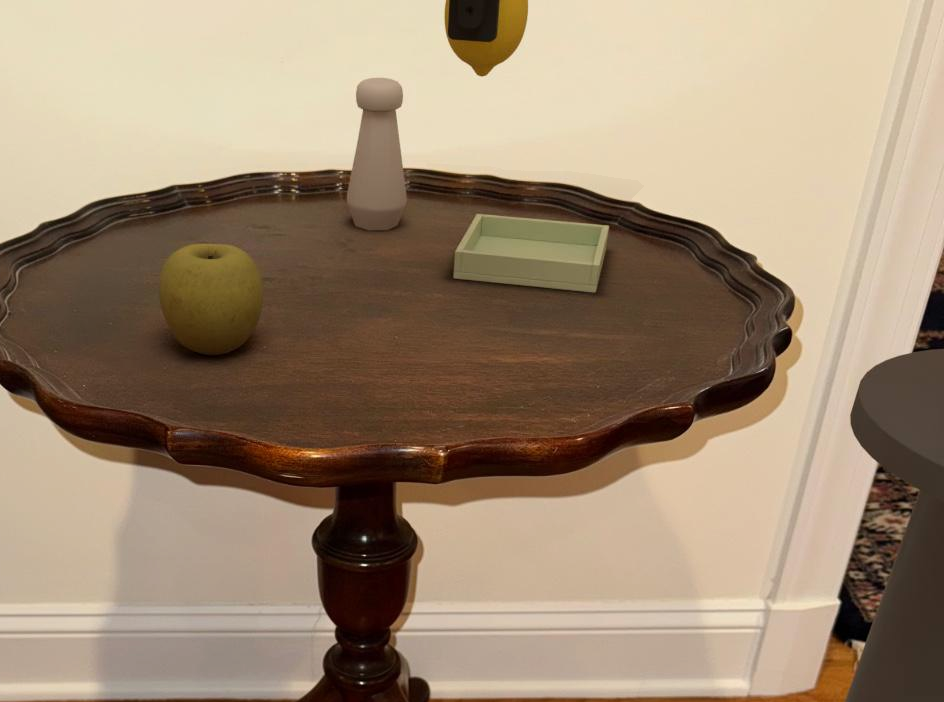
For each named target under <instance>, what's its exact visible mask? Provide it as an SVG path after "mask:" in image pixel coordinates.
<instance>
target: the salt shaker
mask: <svg viewBox="0 0 944 702" xmlns="http://www.w3.org/2000/svg"><path fill="white" fill-rule="evenodd" d="M403 100H404V91H403V87H402V85H401V83H400V82H399V81H397V80H394V79H392V78H387V77H370V78H366V79H363V80H361V81H359V83H358V84H357V86H356V90H355V101H356V105H357V107H358V108H359V109H360V110H362V113H361V118H360V119H361V120H360V126H359V132H358V137H357V142H356V147H355V152H354V158H353V162H352V168H351V173H350V178H349V183H348V188H347V193H346V203H347V208H348V210H349V213H350V216H351V218H352V221H353V224H354V225H355V227H357V228H360V229H363V230H366V231H389V230H391V229H393V228H395V227H397V226H398V225H399V222H400V221H401V218H402V216H403V214H404V211H405V209H406V207H407V204H408V203H407V202H408V196H407V188H406V181H405V173H404V166H403V157H402V148H401V142H400V141H401V140H400V134H399V126H398V117H397V110H398V109H401V107H402V105H403V102H404V101H403Z"/></svg>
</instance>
